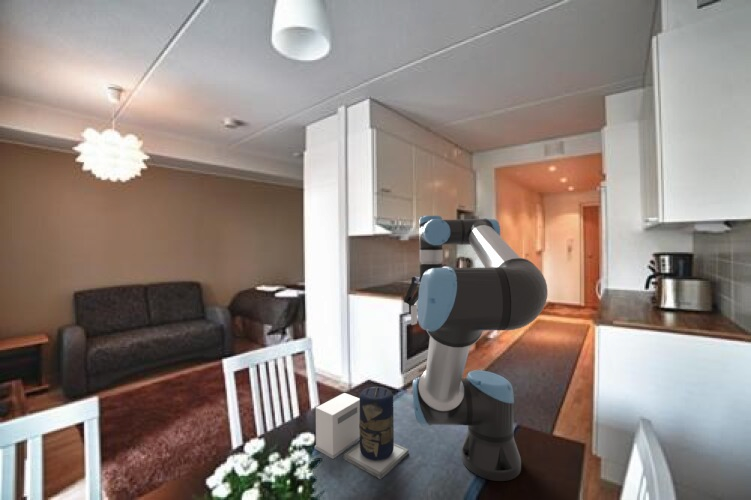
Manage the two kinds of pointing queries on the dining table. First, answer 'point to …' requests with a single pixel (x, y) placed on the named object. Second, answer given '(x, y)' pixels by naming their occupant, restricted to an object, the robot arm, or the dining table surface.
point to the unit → (337, 425)
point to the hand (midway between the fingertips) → (431, 327)
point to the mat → (376, 466)
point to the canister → (376, 423)
